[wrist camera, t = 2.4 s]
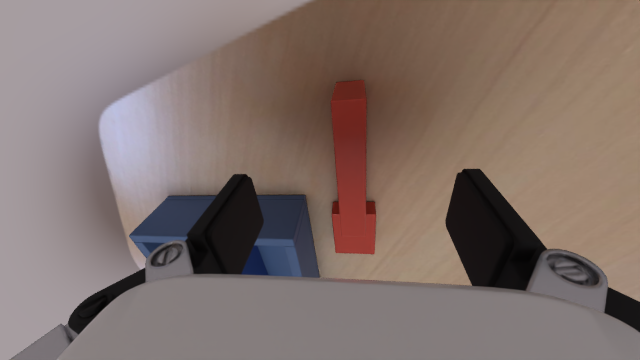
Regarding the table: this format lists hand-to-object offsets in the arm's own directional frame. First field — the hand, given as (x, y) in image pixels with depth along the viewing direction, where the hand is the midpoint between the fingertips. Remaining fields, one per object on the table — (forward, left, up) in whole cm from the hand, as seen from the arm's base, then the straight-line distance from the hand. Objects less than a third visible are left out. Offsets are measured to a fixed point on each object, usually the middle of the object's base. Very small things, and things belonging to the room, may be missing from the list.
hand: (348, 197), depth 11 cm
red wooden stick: (+4, 0, -7) cm, 9 cm away
